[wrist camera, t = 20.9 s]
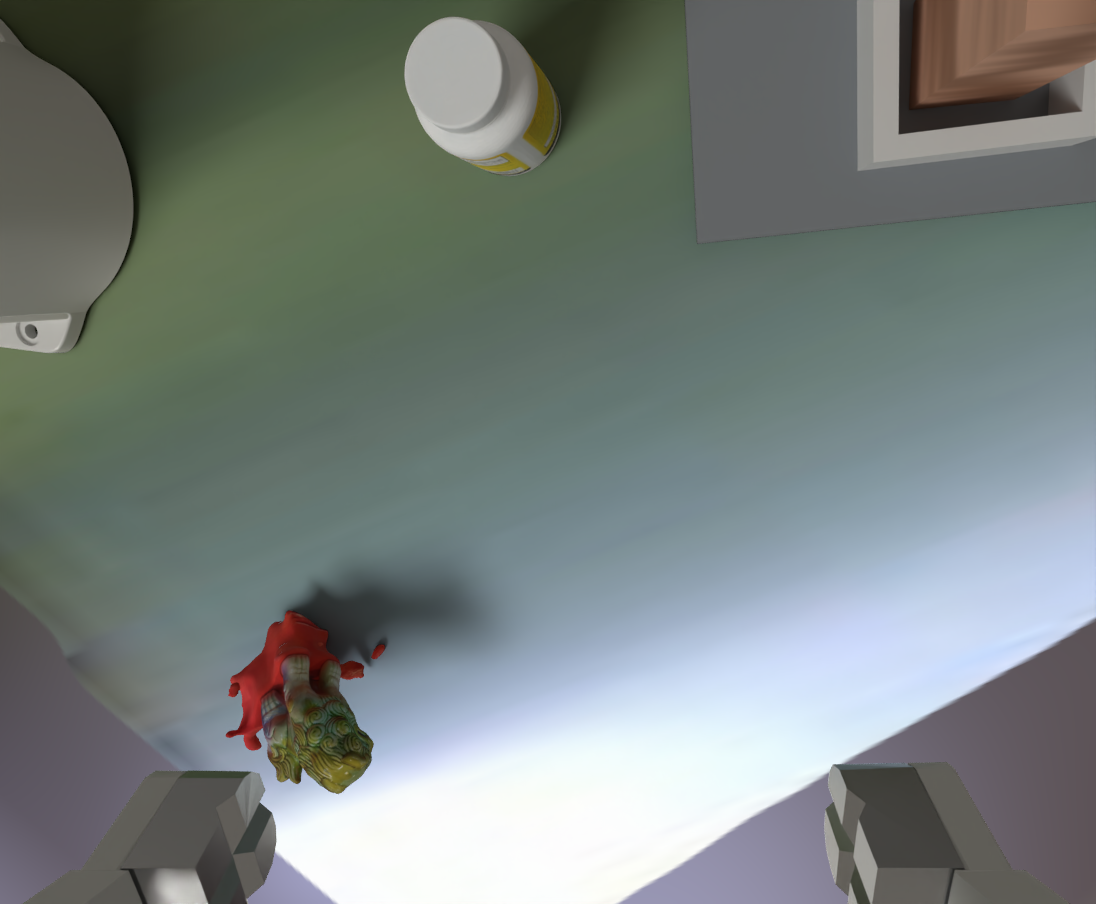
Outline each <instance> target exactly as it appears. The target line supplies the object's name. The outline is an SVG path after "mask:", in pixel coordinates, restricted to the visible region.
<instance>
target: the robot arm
mask: <svg viewBox="0 0 1096 904" xmlns="http://www.w3.org/2000/svg"><path fill="white" fill-rule="evenodd" d="M132 224H133V192H132V184H131V178H130V173H129V169H128V165H127V161H126V158H125V155H124V152H123V149H122V147H121V144H120V142H119V140H118V137H117V135H116V133H115V131H114V129H113V127H112V125H111V124H110V122H109V120H108V119H107V117H106V116H105V114H104V113H103V111H102V110H101V108H100V107H99V106H98V104H97V103H96V102H95V100H94V99H93V98H92V97H91V96H90V95H89V94H88V92H87V91H86V90H85V89H84V88H82V87H81V86H80V85H79V84H78V83H77V82H76V81H75V80H74V79H72V78H71V77H70V76H68V75H67V74H66V73H64V72H63V71H61V70H60V69H58V68H56V67H55V66H53V65H51V64H49V63H47V62H46V61H44V60H42V59H40V58H38V57H37V56H35V55H34V54H32V53H31V52H29V51H28V50H27V49H26V48H25V47H24V46H23V45H22V44H21V42H20V41H19V40H18V39H17V37H16V36H15V35H14V34H13V33H12V31H11V30H10V29H9V28H8V27H7V25H6V24H5V23H4V22H3V21H2V20H1V19H0V347H5V348H13V349H21V350H28V351H36V352H44V353H65V352H68V351H70V350H71V349H72V348H73V347H74V345H75V344H76V342H77V340H78V337H79V335H80V332H81V329H82V326H83V322H84V319H85V315H86V312H87V310H88V309H89V307H90V305H91V304H92V303H93V302H94V300H95V299H96V298H97V297H98V296H99V295H100V294H101V293H102V292H103V291H104V290H105V289H106V287H107V286H108V285H109V284H110V282H111V281H112V280H113V278H114V277H115V275H116V273H117V272H118V270H119V268H120V266H121V264H122V262H123V260H124V257H125V254H126V251H127V249H128V245H129V241H130V236H131V231H132ZM35 327H36V328H37V331H38V334H36V332H35ZM828 787H829V789H830V792H831V795H832V798H833V801H834V802H833V803H832V804H831V805H830V806H829V807H827V808H826V810H825V826H824V830H825V841H826V850H827V855H828V859H829V863H830V868H831V871H832V874H833V877H834V880H835V883H836V885H837V886H838V887H839V888H840V889H841V890H842V891H843V892H844V893H845V894H847V895H848V904H1070V903H1069V902H1067V901H1066V900H1065V899H1063V898H1062V897H1060V896H1059V895H1058V894H1056V893H1055V892H1054V891H1052V890H1051V889H1050V888H1048V887H1047V886H1046V885H1044V884H1043V883H1042V882H1040V881H1039V880H1037V879H1036V878H1035V877H1033V876H1032V875H1031V874H1029V873H1028V872H1027V871H1025V870H1012V868H1011V866H1010V864H1009V863H1008V861H1007V859H1006V857H1005V856H1004V854H1003V852H1002V850H1001V849H1000V847H999V845H998V844H997V842H996V840H995V839H994V837H993V835H992V833H991V832H990V830H989V828H988V826H987V824H986V823H985V821H984V819H983V818H982V816H981V814H980V812H979V811H978V809H977V807H976V805H975V804H974V802H973V800H972V798H971V797H970V795H969V793H968V791H967V790H966V788H965V786H964V784H963V783H962V781H961V779H960V777H959V776H958V774H957V772H956V771H955V769H954V768H953V767H952V766H951V765H950V764H948V763H947V762H937V763H908V764H906V763H878V764H833V765H832V767H831V770H830V772H829V781H828ZM264 792H265V788H264V785H263V782H262V780H261V777H260V774H259V773H255V772H240V771H155V772H153V773H152V774H150V775H149V776H148V777H146V778H145V779H144V780H143V782H142V783H141V784H140V786H139V787H138V789H137V790H136V792H135V793H134V795H133V796H132V797H131V799H130V800H129V802H128V803H127V804H126V806H125V807H124V809H123V810H122V812H121V813H120V815H119V816H118V818H117V819H116V820H115V822H114V823H113V825H112V826H111V828H110V829H109V830H108V832H107V833H106V835H105V836H104V838H103V839H102V840H101V842H100V843H99V845H98V846H97V848H96V849H95V850H94V852H93V853H92V855H91V857H90V858H89V859H88V861H87V862H86V863H85V865H84V866H83V868H82V869H81V870H71V871H69V872H68V873H66V874H65V875H63V876H62V877H60V878H59V879H57V880H56V881H55V882H54V883H52V884H50V885H49V886H48V887H46V888H45V889H43V890H42V891H40V892H39V893H37V894H36V895H35V896H33V897H32V898H30V899H29V900H27V901H26V902H24V903H23V904H248V902H247V898H248V897H249V896H251V895H252V894H253V893H254V892H255V891H256V890H257V889H259V888H260V887H261V886H262V885H263V884H264V882H265V880H266V878H267V875H268V873H269V870H270V868H271V866H272V862H273V857H274V852H275V846H276V825H275V822H274V818H273V814H272V812H270V811H269V810H268V809H267V808H266V807H264V806H263V805H262V804H261V803H260V800H261V798H262V796H263V794H264Z"/></svg>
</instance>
